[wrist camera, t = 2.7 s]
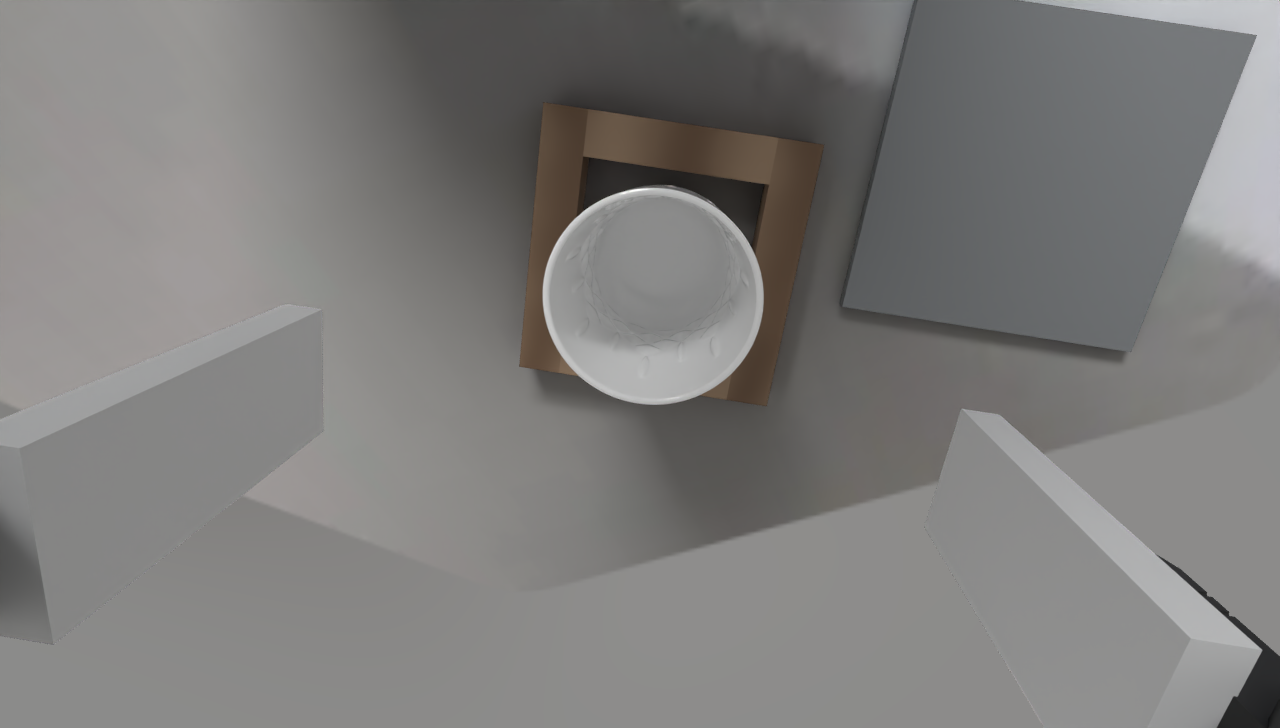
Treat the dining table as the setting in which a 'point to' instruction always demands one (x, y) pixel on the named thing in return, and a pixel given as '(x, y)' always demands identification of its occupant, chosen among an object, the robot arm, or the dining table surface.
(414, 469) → the dining table surface
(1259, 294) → the dining table surface
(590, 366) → the white cup
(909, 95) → the grey mat
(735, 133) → the walnut collar
